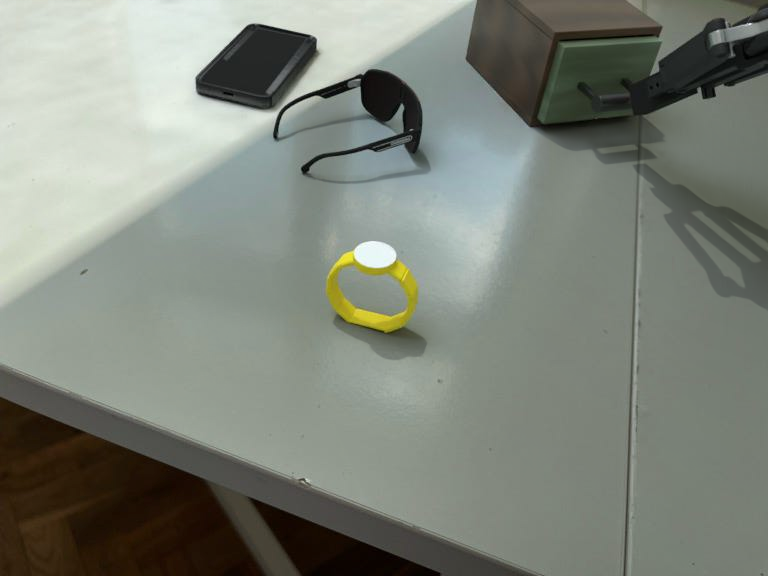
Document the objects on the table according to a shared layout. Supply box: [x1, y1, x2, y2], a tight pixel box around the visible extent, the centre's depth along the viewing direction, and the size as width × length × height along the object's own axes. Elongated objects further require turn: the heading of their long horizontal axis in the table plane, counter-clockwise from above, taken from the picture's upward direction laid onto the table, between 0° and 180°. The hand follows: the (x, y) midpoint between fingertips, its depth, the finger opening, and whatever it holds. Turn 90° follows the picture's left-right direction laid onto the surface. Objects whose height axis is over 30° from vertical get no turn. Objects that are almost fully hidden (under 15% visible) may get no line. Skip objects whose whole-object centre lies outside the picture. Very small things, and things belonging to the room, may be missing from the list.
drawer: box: [537, 35, 663, 125], centre depth 78 cm, size 18×11×8 cm, turn 21°
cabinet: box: [465, 0, 664, 127], centre depth 80 cm, size 15×12×10 cm
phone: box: [194, 23, 318, 109], centre depth 78 cm, size 8×1×15 cm
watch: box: [325, 240, 419, 334], centre depth 51 cm, size 6×3×6 cm, turn 72°
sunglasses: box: [272, 68, 424, 174], centre depth 69 cm, size 10×12×5 cm
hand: (637, 100), depth 71 cm, fingers closed
